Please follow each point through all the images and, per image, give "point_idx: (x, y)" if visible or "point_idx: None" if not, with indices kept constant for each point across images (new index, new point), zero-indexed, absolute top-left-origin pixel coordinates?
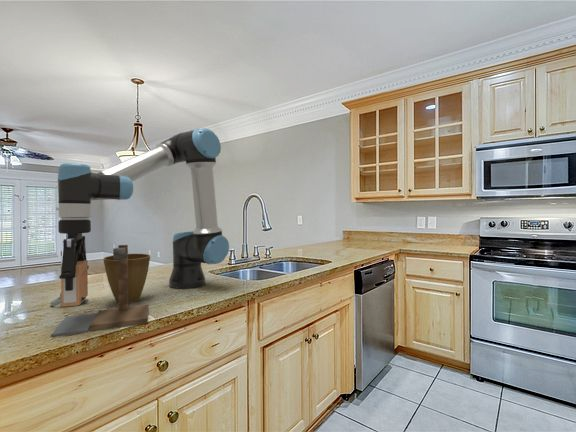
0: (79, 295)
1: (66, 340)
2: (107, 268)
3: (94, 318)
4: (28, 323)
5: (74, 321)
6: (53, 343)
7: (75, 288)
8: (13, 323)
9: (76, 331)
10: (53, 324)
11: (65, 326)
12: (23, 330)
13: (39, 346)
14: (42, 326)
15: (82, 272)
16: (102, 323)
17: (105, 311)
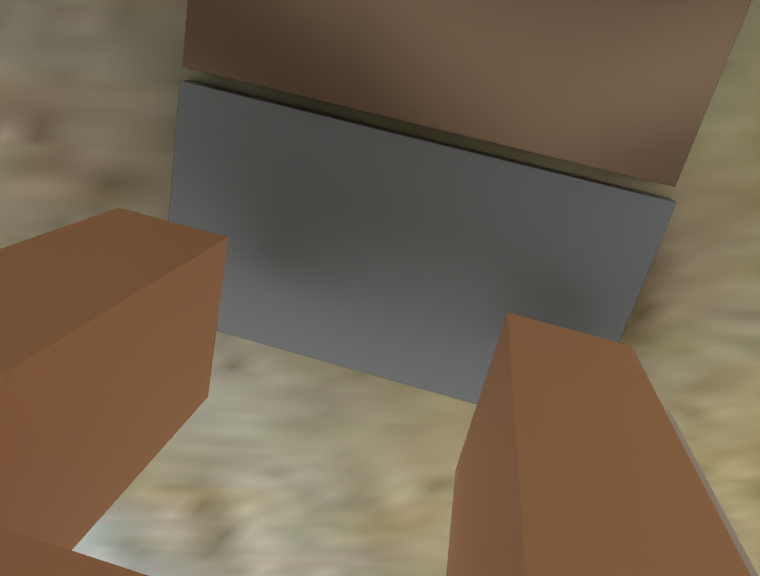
0: (650, 408)
1: (754, 346)
2: None
3: (458, 129)
4: (164, 501)
5: (343, 273)
6: (747, 419)
7: (750, 564)
8: (121, 558)
9: (643, 281)
10: (275, 388)
11: (442, 339)
12: (304, 530)
13: (735, 487)
14: (282, 445)
15: None
16: (704, 71)
17: (264, 4)
